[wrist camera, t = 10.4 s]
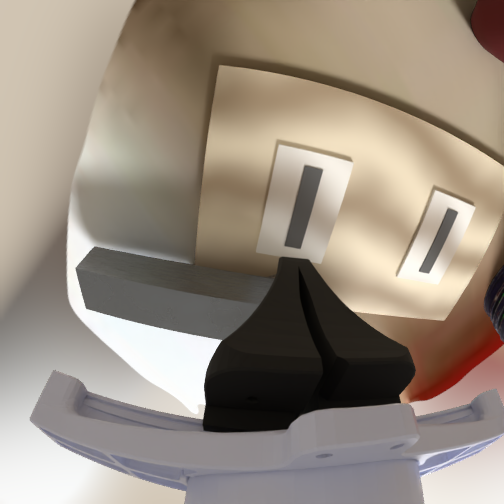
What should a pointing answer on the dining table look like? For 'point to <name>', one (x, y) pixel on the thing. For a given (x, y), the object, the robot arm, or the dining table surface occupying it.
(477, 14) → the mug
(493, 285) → the storage jar
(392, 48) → the dining table surface
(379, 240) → the label board
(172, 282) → the grey square pillar
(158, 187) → the dining table surface
